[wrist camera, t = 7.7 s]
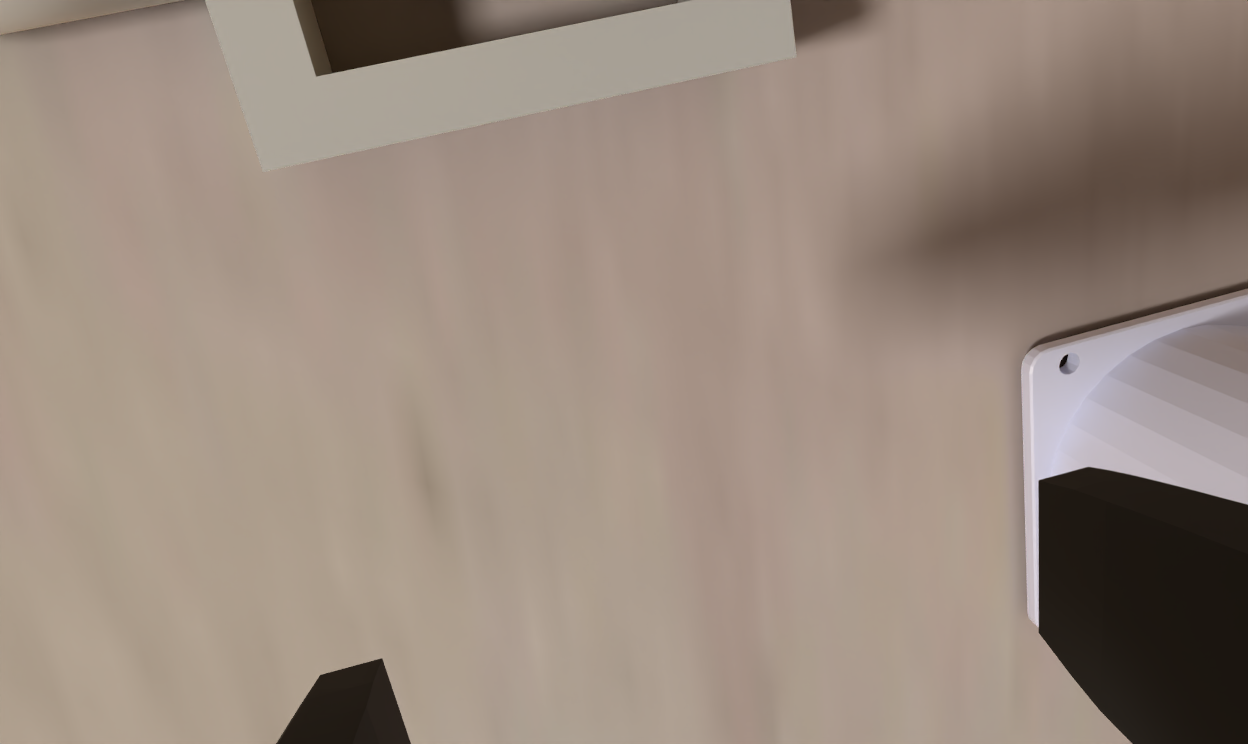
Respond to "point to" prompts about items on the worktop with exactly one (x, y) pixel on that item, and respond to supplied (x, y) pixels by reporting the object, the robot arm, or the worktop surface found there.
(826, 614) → the worktop surface
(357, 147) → the fitting socket
